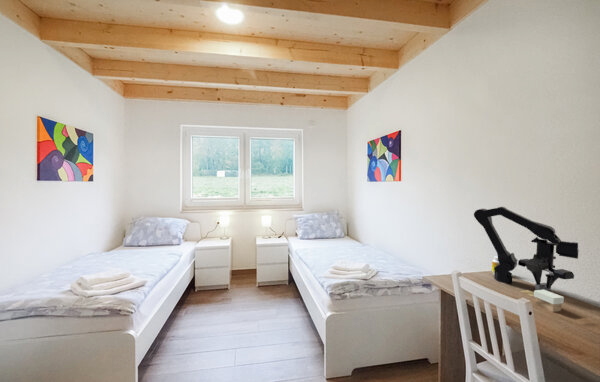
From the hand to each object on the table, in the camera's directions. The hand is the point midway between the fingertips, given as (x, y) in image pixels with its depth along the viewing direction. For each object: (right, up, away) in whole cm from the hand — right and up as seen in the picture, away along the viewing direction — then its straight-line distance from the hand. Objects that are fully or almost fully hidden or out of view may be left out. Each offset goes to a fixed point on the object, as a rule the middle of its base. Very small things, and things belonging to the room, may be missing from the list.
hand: (543, 286), depth 116 cm
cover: (-12, 0, -15) cm, 19 cm away
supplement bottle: (-4, -2, +22) cm, 22 cm away
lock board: (-10, -4, -9) cm, 14 cm away
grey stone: (0, -4, 0) cm, 4 cm away
